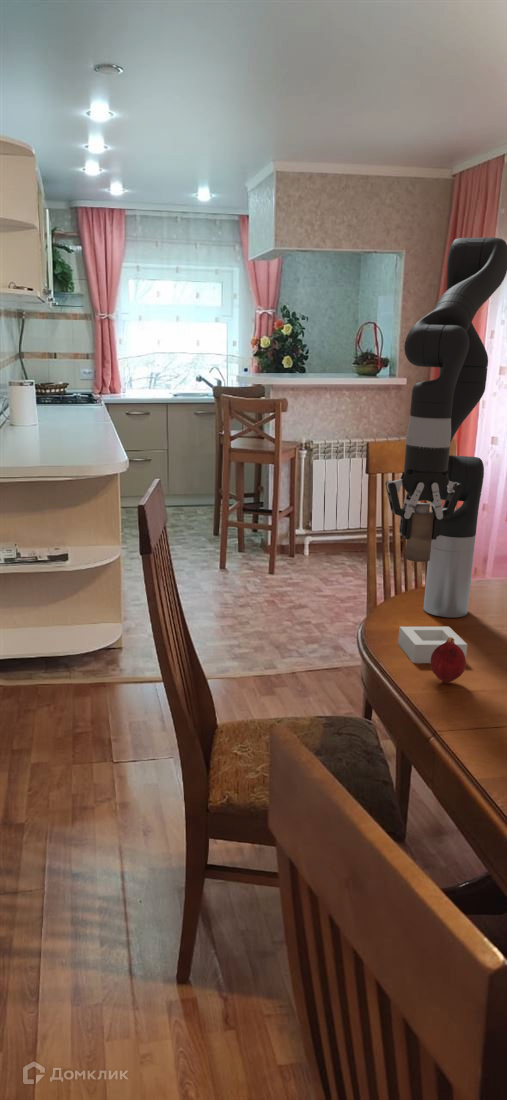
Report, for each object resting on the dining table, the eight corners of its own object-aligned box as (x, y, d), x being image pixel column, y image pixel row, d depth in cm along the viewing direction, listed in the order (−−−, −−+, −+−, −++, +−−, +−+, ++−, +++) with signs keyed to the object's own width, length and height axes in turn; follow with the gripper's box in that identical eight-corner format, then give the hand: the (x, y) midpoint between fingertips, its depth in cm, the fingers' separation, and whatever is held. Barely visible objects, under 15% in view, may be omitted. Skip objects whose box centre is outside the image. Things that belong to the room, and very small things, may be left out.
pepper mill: (407, 554, 154) (412, 501, 152) (431, 557, 153) (437, 503, 150) (402, 559, 150) (407, 504, 148) (427, 563, 149) (432, 507, 146)
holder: (398, 644, 158) (399, 626, 157) (447, 644, 160) (448, 626, 159) (413, 663, 149) (415, 644, 148) (465, 662, 150) (467, 644, 149)
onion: (464, 691, 137) (469, 645, 136) (428, 687, 139) (433, 642, 137) (463, 678, 143) (467, 634, 141) (428, 674, 144) (432, 630, 142)
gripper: (394, 444, 142) (386, 543, 146) (475, 446, 144) (465, 543, 148) (382, 439, 149) (375, 533, 153) (459, 441, 151) (450, 534, 155)
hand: (419, 537), depth 151 cm, fingers closed on pepper mill, 4 cm apart
